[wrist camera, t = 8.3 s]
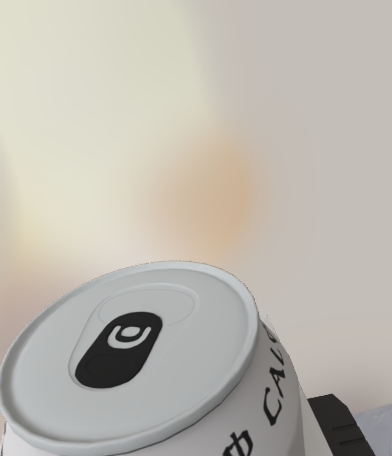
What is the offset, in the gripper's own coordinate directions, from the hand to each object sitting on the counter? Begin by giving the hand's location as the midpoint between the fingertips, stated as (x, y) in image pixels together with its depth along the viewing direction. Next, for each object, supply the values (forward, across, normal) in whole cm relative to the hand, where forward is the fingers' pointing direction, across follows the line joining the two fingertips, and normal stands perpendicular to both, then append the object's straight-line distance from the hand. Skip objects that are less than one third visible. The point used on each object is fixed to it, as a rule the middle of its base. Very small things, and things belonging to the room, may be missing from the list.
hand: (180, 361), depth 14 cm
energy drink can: (-5, 0, -9) cm, 11 cm away
